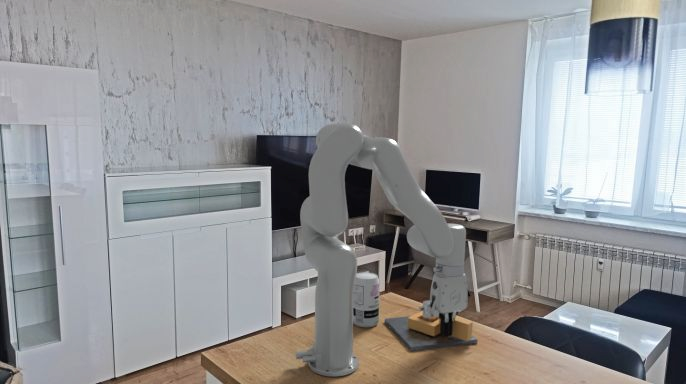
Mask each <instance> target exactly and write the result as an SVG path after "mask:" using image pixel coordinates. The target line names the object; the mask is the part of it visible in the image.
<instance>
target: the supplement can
mask: <svg viewBox="0 0 686 384" xmlns="http://www.w3.org/2000/svg"><path fill="white" fill-rule="evenodd" d="M380 284H381V283H380V278H379V277H378V274H377V273H374V272H367V271H366V272H358V273H357V272H356V278H355V283H354V298H353V325H355V326H357V327H359V328H366V329H367V328H372V327H375V326H376V325H378V323H379V322H380V321H379V319H380V289H381V288H380Z"/></svg>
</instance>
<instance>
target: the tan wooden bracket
mask: <svg viewBox="0 0 686 384" xmlns="http://www.w3.org/2000/svg"><path fill="white" fill-rule="evenodd" d="M422 312H423V311H419V312H417V313H414V314H413V315H412V314H411V315H410V317H408V324H407V327H408V328H411V329H414V330H417V331H420V332H423V333H425V334H428V335H431V336H436V335H437V334H439V333H441V332H440V324H441V319H439V317H436V321H434V322H433V323H432V322H428V321H425V320H422ZM473 324H474V323H473V321H471V320H467V319H465V318H464V319H463V318H460V317H457V316H456V317H455V320H454V321H453V329H452V335H450V336H453V337H456V338H459V339H462V340H465V341H469V340H470V339H472V336H473Z"/></svg>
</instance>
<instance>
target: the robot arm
mask: <svg viewBox="0 0 686 384" xmlns="http://www.w3.org/2000/svg"><path fill="white" fill-rule="evenodd" d="M315 137H316V138H315V144H316V150H315V152H314V153H313V155H312V158H311V160H310V162H309V163H310V164H309V168H308V186H309V187H308V188H309V196H308V197H306V199H304V201H303V202H302V204H301V208H300V212H299V213H300V214H299V215H300V217H299V218H300V220H299V221H300V227H301V228H300V229H301V237H302V242H303V243H302V244H303V251H304V255H305V259H306V260H307V263H308V264H309V265H310V266H311V267H312V268H313V269H314V270H315V271H316V272H317V278H316V279H317V280H316V285H315V292H314V344H311V348H308V349H307V350H298V351H297V350H296V351H295V358H296V359H295V360H302V363H303V364H304V363H308V367H309V370H311V371H312V372H314V373H315V374H318V375H320V376H324V377H342V376H347V375H350V374H352V373H354V372H355V371H356V370H357V369H358V368H359V358H358V357H357V355H356V354H355V353H353V345H354V323H353V298H354V283H355V278H356V274H357V272H358V259H357V256H356V255H357V254H356V253H355V251H354V250H353V249H352V247H350V246H349V245H348V244H347V243H345V242H343V241H342V240H340V239H339V236H340V235H342V234H343V233H344V232H345V230H347V227H348V223H349V212H348V204H347V195H346V181H345V177H346V172H347V168H348V166H349V165H351V166H354V167H355V166H356V167H359V168H362V169H367V170H372V171H373V173H374V175H375V177H376V179H377V181H378V182H379V184H380V186H381V189H382V190H383V192H384V193H385V197H386V198H387V200H388V201H389V203H390V204H391V205H392V206H393V207H394V209H396V210H397V211H398V212H400V213H402V214H403V215H404V216H405V217H406V218H407V219H408V220H410V221H411V222H412V223H413V225H412V226H411V227H410V228H409V229H408V230H407V233H406V239H407V243H408V244H409V246H410V247H411V248H412V249H414V250H416V251H418V252H420V253H423V254H425V255H428V256H429V257H432V258H434V259H435V267H434V266H433V268H432V269H433V272H434V273H433V276H432V282H431V286H430V293H429V301H430V308H431V309H432V310H431V315H432V316H434V317H439V319H441V324H440V332H441V333H442V334H444V335H446V336H449V335H452V329H453V321H454V320H455V317H457V315H458V314H460V313H461V312H463V311H464V310H466V308H467V307H468V299H469V298H468V296H469V295H468V292H469V291H468V282H467V281H468V280H467V276H466V273H465V271H464V270H465V255H466V254H465V253H466V240H467V239H466V238H467V230H466V227H464V226H463V225H462V224H458V223H448V222H447V220H446V219H445V217H444V215H443V214H442V213H443V212H441V211H440V209H439V208H438V206H436V204H435V203H434V202H433V201H432V200H431V198H430V197H429V196H428V195H427V194H426V193H425V192H424V191H423V189H422V188H421V186H420V185H419V183H418V181H417V179H416V178H415V175H414V173H413V172H412V169H411V167H410V165H409V163H408V161H407V159H406V157H405V155H404V152H403V151H402V149H401V147H400V146H399V144H398V142H397V141H395V140H394V139H392V138H389V137H382V136H379V137H377V136H375V137H374V136H369V135H365V134H363V131H362V130H361V129H360V128H359V127H358V125H356V124H352V123H348V122H340V123H329V124H326V125H324V126H323V127H321V128H320V129H319V130H318V132H317V133H316V136H315Z"/></svg>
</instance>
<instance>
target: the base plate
mask: <svg viewBox="0 0 686 384" xmlns="http://www.w3.org/2000/svg"><path fill="white" fill-rule="evenodd" d="M418 310H419V312H421V311H423V312H422V320H425V321H428V322H432V323H433V322H434V321H436V317H434V316H432V315H431V310H432V309H431V308H430V300H424V301H422V306H421V305H420V306H418ZM410 316H411V315H410ZM410 316H409V315H408V316H398V317H390V318H389V317H388V318H387V317H386V318H384V323H385V325H386V326H387V327H388V328H389V327H390V328H389V329H390V330H391V331H392V332H393V333H394V334H395V335H396V336H397V338H398V339H399V340H400V342H402V344H404V345H405V346H406V348H408V350H409V349H410V350H411V351H410V350H409V351H410V352H417V350H418V351H425V349H427V350H433V348H435V349H442V347H443V348H450V347H459V346H467V345H475V344H476V345H477V344H478V339H477V338H476V337H475V336H474V335H472V339H470V340H469V341H465V340H462V339H459V338H456V337H453V336H450V335H449V336H446V335H444V334H442V333H439V334H437V335H436V336H431V335H428V334H425V333H423V332H420V331H417V330H414V329H411V328H408V327H407V324H408V317H410Z"/></svg>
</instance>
